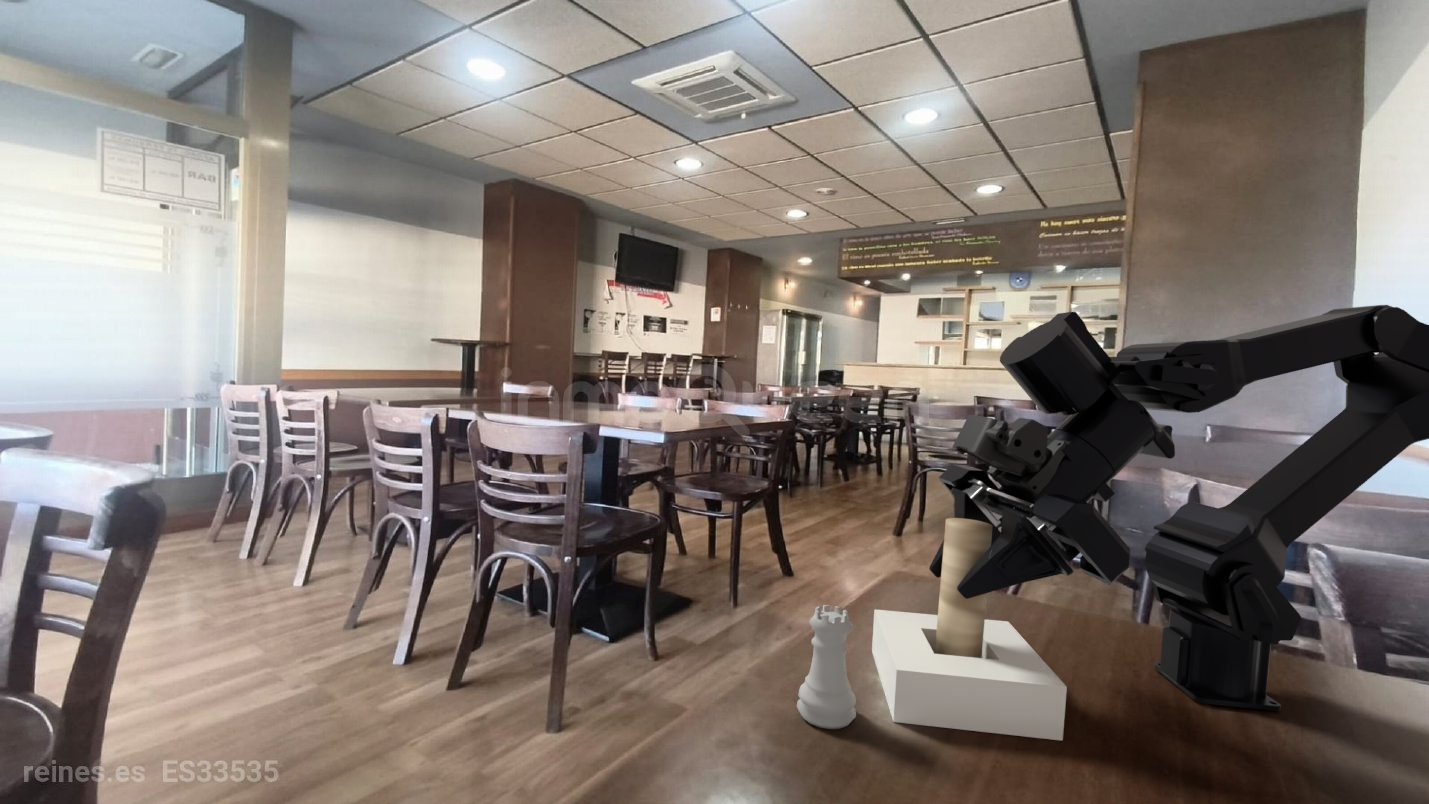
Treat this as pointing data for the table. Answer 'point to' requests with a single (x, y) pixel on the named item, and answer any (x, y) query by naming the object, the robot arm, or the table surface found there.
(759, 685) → the table surface
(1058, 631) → the table surface
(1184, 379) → the robot arm
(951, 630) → the peg
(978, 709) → the block
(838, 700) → the rook chess piece
